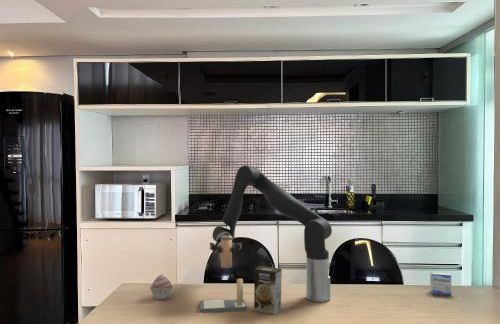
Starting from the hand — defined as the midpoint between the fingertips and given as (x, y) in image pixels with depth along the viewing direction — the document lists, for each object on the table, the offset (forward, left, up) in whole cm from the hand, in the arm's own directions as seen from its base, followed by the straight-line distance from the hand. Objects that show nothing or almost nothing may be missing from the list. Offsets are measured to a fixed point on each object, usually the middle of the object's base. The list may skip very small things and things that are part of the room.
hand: (226, 250), depth 158 cm
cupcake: (+27, -12, -22) cm, 37 cm away
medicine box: (-94, -5, -22) cm, 97 cm away
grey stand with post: (+2, +1, -22) cm, 22 cm away
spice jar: (0, -3, -7) cm, 8 cm away
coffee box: (-15, +7, -22) cm, 28 cm away
